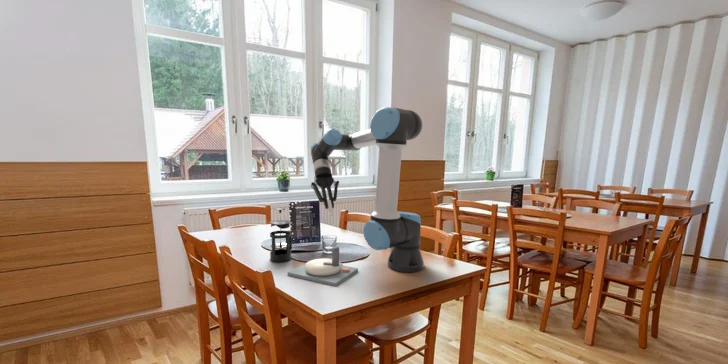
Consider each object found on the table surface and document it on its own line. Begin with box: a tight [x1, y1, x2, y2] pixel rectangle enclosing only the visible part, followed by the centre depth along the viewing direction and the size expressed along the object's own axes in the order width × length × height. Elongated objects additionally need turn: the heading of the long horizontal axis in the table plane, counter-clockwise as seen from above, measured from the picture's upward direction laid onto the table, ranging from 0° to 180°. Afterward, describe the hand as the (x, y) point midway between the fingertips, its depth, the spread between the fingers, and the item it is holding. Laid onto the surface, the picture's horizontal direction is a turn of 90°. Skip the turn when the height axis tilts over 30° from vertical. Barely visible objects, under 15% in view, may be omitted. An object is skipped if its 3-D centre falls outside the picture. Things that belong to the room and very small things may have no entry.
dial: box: [306, 246, 341, 276], centre depth 130 cm, size 14×14×9 cm
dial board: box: [287, 262, 359, 287], centre depth 131 cm, size 22×18×2 cm
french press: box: [269, 207, 293, 264], centre depth 146 cm, size 12×9×23 cm
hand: (331, 214), depth 139 cm, fingers closed
